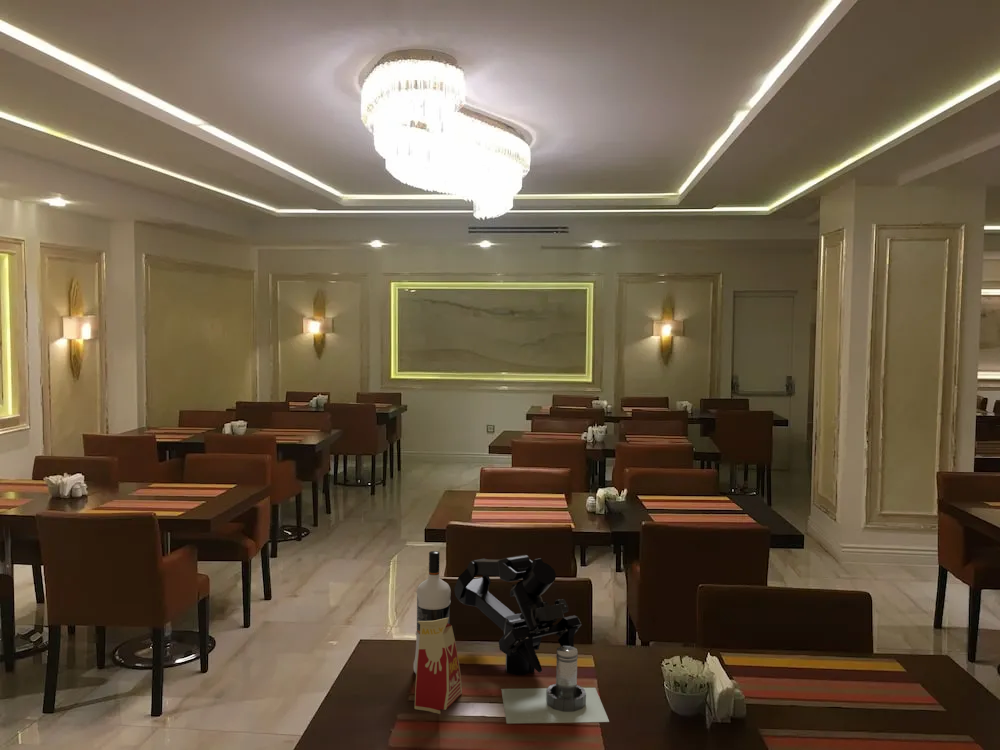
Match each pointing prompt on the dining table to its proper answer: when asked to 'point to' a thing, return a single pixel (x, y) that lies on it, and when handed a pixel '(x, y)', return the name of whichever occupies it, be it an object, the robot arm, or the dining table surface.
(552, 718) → the plate
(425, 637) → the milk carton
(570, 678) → the silver upright cylinder
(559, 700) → the ring collar
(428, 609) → the vodka
